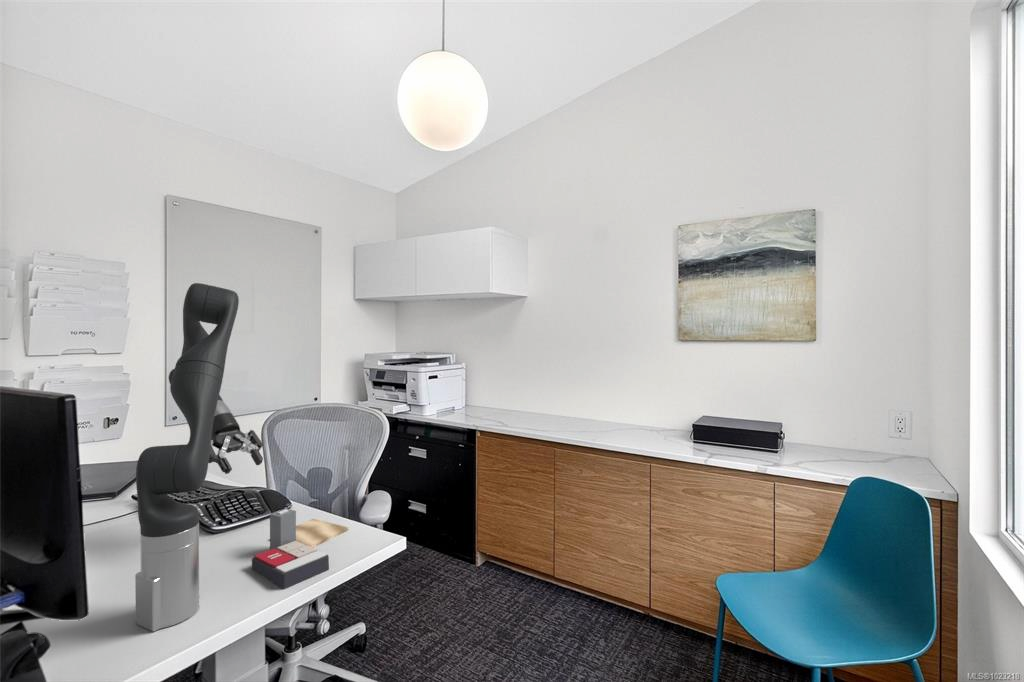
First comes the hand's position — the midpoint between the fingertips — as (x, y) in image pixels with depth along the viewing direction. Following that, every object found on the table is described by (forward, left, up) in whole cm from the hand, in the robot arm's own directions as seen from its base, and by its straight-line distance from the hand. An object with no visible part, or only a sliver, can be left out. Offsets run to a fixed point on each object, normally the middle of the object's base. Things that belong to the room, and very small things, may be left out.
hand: (245, 467), depth 122 cm
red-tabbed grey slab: (-4, -23, -21) cm, 31 cm away
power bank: (+1, -13, -20) cm, 24 cm away
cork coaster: (+11, -11, -20) cm, 26 cm away
